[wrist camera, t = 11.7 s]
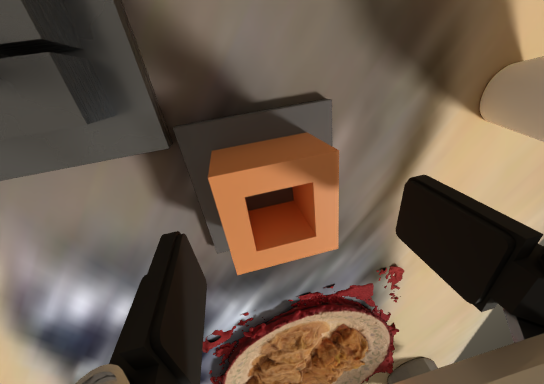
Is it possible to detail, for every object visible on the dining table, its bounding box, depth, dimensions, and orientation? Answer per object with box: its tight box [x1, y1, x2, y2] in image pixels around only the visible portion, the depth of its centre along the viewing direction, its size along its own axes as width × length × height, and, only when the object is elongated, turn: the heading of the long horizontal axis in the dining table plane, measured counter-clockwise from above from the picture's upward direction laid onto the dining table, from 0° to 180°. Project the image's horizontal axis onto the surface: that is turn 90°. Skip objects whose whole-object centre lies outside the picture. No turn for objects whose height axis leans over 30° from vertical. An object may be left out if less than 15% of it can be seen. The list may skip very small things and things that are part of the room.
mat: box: [173, 99, 332, 254], centre depth 16 cm, size 10×10×1 cm
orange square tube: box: [208, 133, 339, 275], centre depth 14 cm, size 6×6×4 cm
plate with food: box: [202, 267, 404, 384], centre depth 28 cm, size 24×26×4 cm
